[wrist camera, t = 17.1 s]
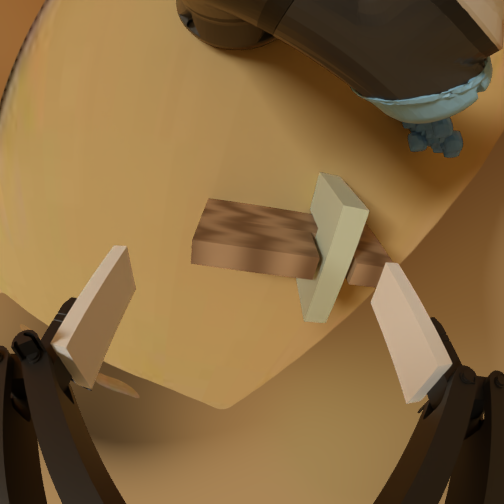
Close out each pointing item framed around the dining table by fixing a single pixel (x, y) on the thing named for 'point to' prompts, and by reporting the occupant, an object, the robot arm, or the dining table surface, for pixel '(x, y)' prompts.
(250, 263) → the slotted board
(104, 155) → the dining table surface
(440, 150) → the grapes
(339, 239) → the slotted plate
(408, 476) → the robot arm
